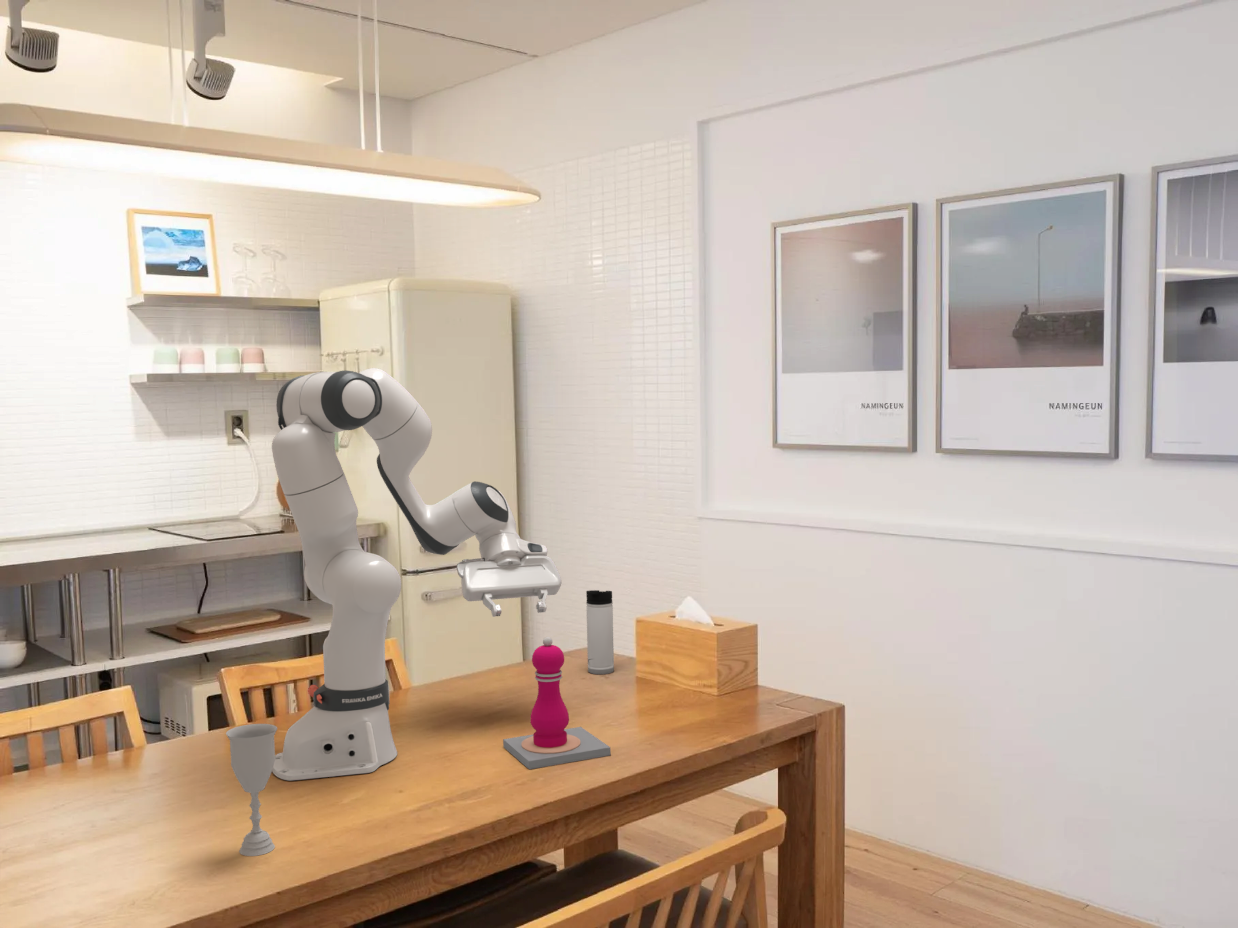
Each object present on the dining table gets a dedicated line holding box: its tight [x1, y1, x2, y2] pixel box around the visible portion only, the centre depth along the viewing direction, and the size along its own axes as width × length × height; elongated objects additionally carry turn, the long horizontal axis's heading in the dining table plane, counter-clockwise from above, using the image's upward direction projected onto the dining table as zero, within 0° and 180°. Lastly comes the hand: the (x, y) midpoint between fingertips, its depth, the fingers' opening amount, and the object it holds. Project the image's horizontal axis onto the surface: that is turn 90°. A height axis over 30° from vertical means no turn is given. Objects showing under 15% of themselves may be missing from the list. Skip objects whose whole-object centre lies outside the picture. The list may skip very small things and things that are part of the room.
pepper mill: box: [530, 636, 570, 748], centre depth 204 cm, size 7×7×20 cm
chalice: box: [225, 723, 278, 857], centre depth 163 cm, size 7×7×18 cm
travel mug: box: [585, 589, 615, 675], centre depth 262 cm, size 6×7×20 cm
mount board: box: [502, 726, 612, 770], centre depth 205 cm, size 16×14×2 cm
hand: (520, 612), depth 217 cm, fingers open, 8 cm apart
